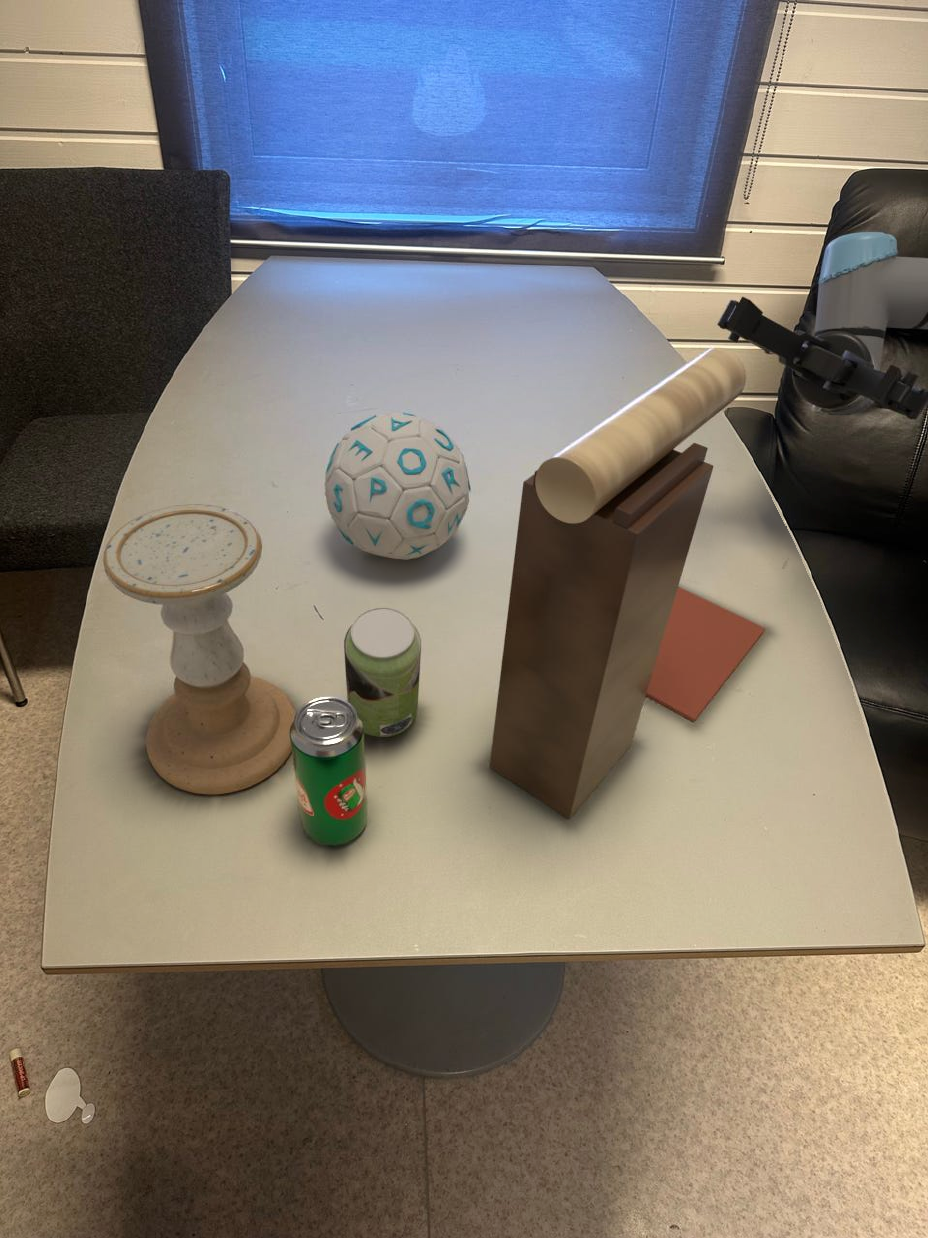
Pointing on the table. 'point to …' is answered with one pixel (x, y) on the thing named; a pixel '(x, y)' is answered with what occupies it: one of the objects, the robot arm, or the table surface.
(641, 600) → the stand
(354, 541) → the puzzle ball
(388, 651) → the beverage can
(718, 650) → the mat
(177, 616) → the candle holder
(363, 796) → the soda can
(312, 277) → the table surface
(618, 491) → the wooden dowel rod
